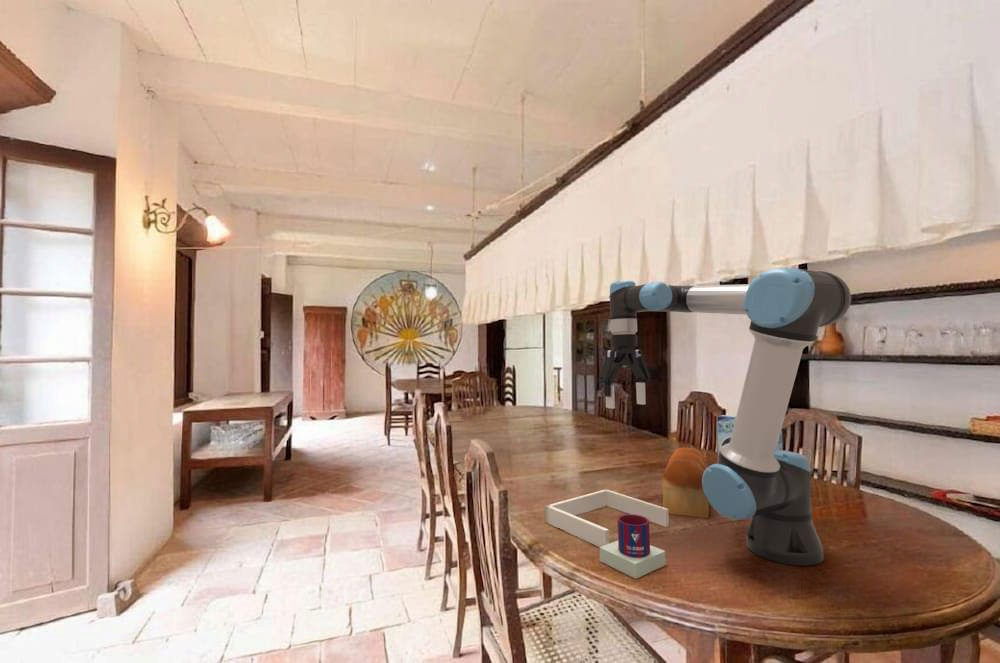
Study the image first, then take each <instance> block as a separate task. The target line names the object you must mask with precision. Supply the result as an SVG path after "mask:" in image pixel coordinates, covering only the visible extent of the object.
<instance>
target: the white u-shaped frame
mask: <svg viewBox="0 0 1000 663" xmlns="http://www.w3.org/2000/svg"><path fill="white" fill-rule="evenodd" d="M605 507H608V508H611V509H615V510H617V511H620V512H623V513H625V514H626V513H630V514H634V515H640V516H643V517H646V518H647V519H648V520H649V522H651V523H654V524H657V525H660V526H662V527H665V528H666V527H669V526H670V515H669V514H670V513H669V512H668V509H667V508H664V507H663V506H660V505H658V504H654V503H652V502H648V501H644V500H642V499H639V498H635V497H631V496H629V495H625V494H623V493H620V492H616V491H612V490H610V489H601V490H598V491H595V492H592V493H588V494H584V495H580V496H576V497H573V498H570V499H566V500H561V501H558V502H554V503H551V504H548V505H547V504H546V505H545V506H544V508H545V509H544V510H545V511H544V513H545V523H546V524H549V525H550V524H551V526H553V527H555V528H558V529H559V528H560V530H561V529H562V531H563V530H564V531H563V532H566V533H568V534H570V535H572V536H575V537H576V536H577V538H579V539H581V540H583V541H585V542H588V543H589V544H592V545H594V546H597V547H598V548H599V547H602V546H605V545H607V544H610V530H609V529H608V528H606V527H604V526H602V525H599V524H596V523H594V522H592V521H589V520H587V519H584V518H581V517H579V516H577V515H581V514H584V513H588V512H591V511H594V510H597V509H598V510H599V509H601V508H605Z"/></svg>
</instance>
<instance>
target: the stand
mask: <svg viewBox="0 0 1000 663" xmlns="http://www.w3.org/2000/svg"><path fill="white" fill-rule="evenodd" d="M598 549H599V562H601V563H602V564H604V565H607V566H609V567H611V568H613V569H615V570H617V571H619V572H621V573H623V574H625V575H627V576H629V577H631V578H633V579H639V578H641V577H644V576H645V575H647V574H649V573H652V572H653V571H657V570H658V569H660V568H662V567H665V566H666V563H667V562H666V551H665V550H663V549H661V548H658V547H656V546H654V545H652V544H650V554H649V555H648V556H645V557H629V556H626V555H624V554H622V553H621V552H620V551H619V549H618V540H616V541H613V542H609V544H607V545H605V546H602V547H598Z"/></svg>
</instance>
